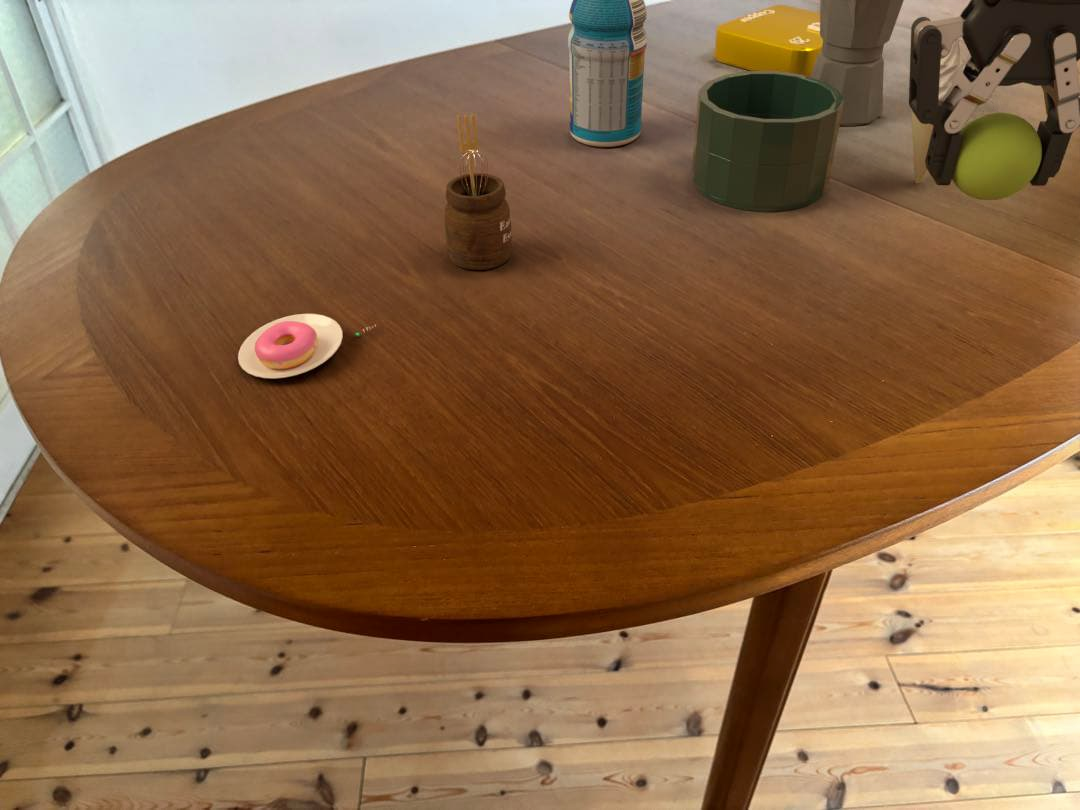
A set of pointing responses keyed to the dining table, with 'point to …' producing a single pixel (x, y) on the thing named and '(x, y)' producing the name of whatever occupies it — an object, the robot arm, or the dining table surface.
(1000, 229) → the dining table surface
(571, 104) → the beverage bottle
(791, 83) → the pot
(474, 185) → the utensil holder
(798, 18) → the element tile
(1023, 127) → the guava
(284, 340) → the donut
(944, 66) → the ice cream cone
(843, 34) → the coffeepot
